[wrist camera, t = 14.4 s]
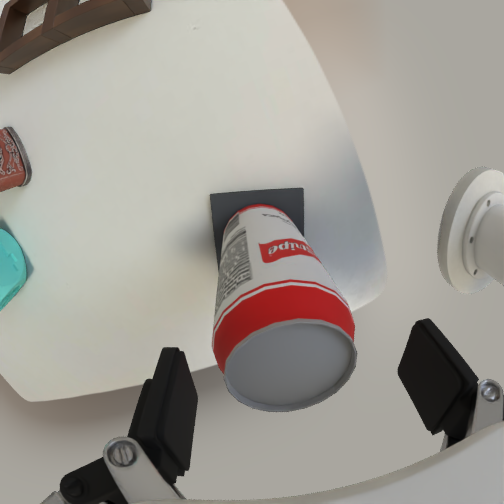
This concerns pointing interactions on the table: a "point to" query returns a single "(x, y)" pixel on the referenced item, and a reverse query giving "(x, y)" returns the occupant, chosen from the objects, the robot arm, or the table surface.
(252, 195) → the coaster
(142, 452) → the robot arm
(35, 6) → the can holder
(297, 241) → the beer can
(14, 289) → the decorative dice
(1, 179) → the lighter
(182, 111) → the table surface
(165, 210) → the table surface
